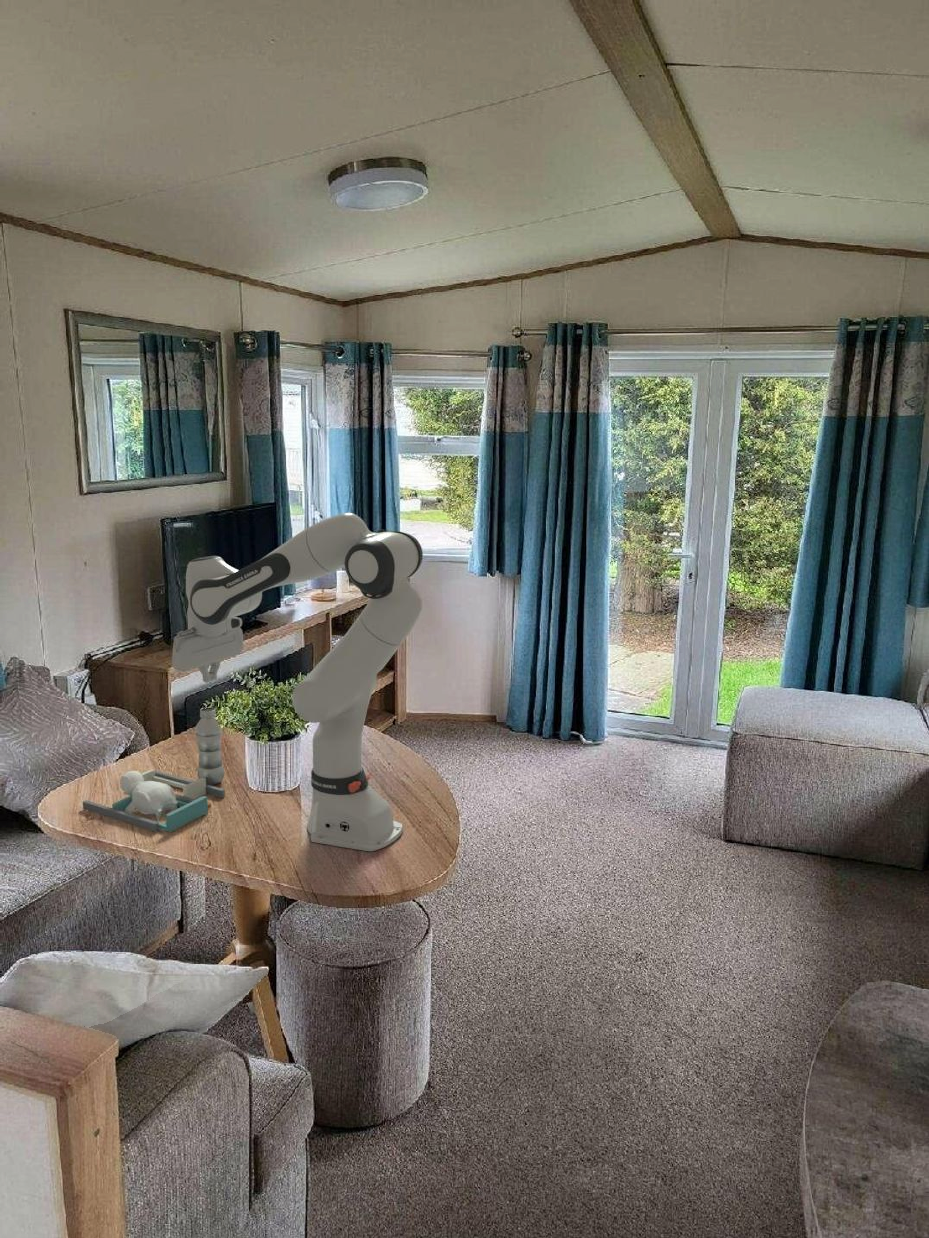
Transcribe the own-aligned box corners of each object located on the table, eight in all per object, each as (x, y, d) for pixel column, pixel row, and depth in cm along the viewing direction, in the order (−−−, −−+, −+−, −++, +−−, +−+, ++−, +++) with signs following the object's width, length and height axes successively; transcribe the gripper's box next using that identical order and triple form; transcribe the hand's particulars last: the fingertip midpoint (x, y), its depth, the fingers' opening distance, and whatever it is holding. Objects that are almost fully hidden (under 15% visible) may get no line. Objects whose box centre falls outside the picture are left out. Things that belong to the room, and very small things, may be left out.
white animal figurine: (176, 819, 211) (134, 786, 216) (184, 791, 208) (141, 758, 213) (149, 833, 204) (106, 798, 209) (157, 804, 201) (113, 770, 206)
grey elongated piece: (206, 793, 218) (205, 778, 217) (187, 802, 213) (186, 787, 212) (152, 778, 226) (151, 764, 226) (133, 787, 221) (132, 772, 220)
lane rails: (224, 796, 217) (224, 789, 217) (155, 832, 198) (155, 824, 197) (155, 777, 228) (154, 770, 227) (83, 809, 208) (82, 801, 208)
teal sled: (207, 812, 207) (207, 797, 207) (170, 832, 197) (169, 815, 196) (151, 796, 216) (150, 781, 215) (112, 814, 206) (111, 798, 205)
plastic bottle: (220, 788, 222) (217, 713, 218) (194, 787, 222) (190, 713, 218) (227, 778, 228) (224, 705, 224) (202, 777, 228) (198, 705, 224)
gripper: (184, 634, 194) (187, 693, 197) (246, 618, 212) (248, 672, 215) (163, 631, 197) (167, 689, 200) (227, 615, 215) (229, 668, 218)
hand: (209, 680), depth 207 cm, fingers closed
